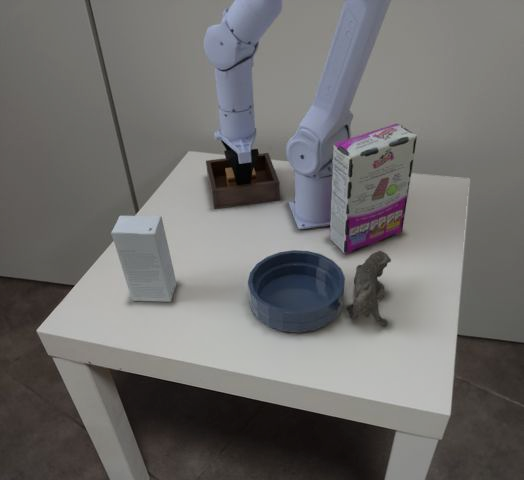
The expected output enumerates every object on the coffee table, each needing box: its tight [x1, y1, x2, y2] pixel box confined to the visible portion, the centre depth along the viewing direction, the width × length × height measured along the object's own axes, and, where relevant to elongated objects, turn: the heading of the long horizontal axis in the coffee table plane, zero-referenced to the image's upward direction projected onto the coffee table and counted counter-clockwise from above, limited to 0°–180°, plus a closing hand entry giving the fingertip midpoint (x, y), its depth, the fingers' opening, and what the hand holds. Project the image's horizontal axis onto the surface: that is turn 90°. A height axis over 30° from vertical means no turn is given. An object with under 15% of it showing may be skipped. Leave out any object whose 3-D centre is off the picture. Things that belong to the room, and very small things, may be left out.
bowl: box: [247, 249, 346, 333], centre depth 76 cm, size 13×13×4 cm
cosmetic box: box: [110, 215, 177, 303], centre depth 76 cm, size 6×4×12 cm
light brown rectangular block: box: [225, 167, 257, 187], centre depth 97 cm, size 5×4×3 cm
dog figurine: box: [346, 250, 392, 326], centre depth 74 cm, size 12×6×7 cm, turn 166°
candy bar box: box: [329, 123, 418, 255], centre depth 81 cm, size 11×5×16 cm, turn 117°
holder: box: [205, 152, 281, 210], centre depth 97 cm, size 12×11×4 cm
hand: (242, 181), depth 97 cm, fingers closed on light brown rectangular block, 3 cm apart
